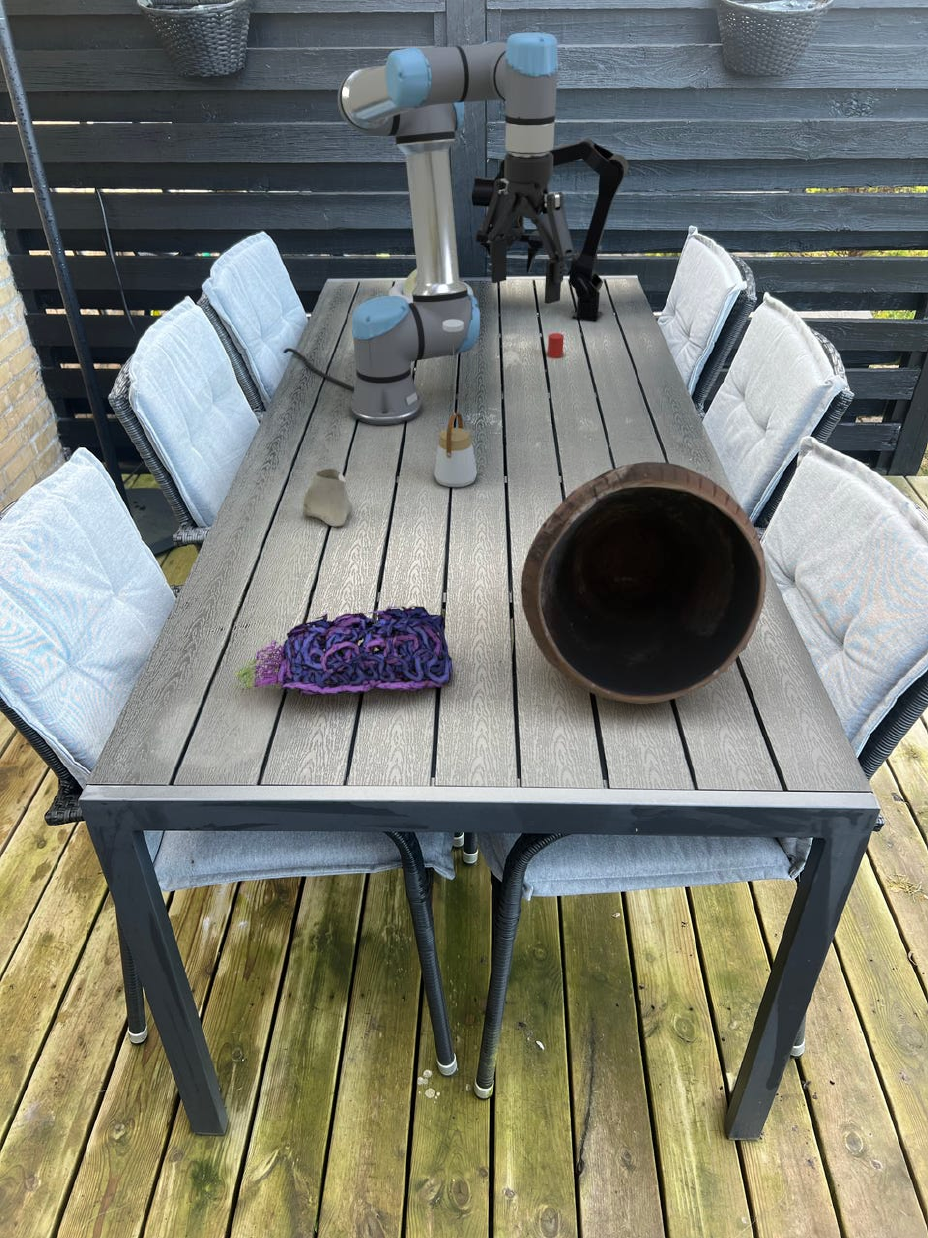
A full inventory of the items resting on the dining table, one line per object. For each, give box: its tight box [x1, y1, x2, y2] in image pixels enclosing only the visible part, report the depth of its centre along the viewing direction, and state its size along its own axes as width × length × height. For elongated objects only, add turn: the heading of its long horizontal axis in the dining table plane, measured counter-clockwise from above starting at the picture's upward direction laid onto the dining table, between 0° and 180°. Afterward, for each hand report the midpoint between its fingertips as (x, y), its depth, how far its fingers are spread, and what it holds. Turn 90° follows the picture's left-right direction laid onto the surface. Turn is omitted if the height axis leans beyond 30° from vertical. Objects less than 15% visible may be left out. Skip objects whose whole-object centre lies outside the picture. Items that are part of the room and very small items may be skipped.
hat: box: [387, 268, 474, 303], centre depth 239 cm, size 25×22×15 cm
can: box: [547, 332, 565, 359], centre depth 226 cm, size 4×4×5 cm
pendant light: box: [433, 319, 478, 488], centre depth 169 cm, size 8×8×30 cm
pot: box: [520, 461, 767, 705], centre depth 132 cm, size 32×32×30 cm
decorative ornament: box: [235, 605, 454, 697], centre depth 129 cm, size 13×11×30 cm
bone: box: [301, 468, 353, 528], centre depth 164 cm, size 9×8×10 cm
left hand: (524, 291), depth 156 cm, fingers open, 13 cm apart
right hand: (511, 270), depth 247 cm, fingers open, 9 cm apart
